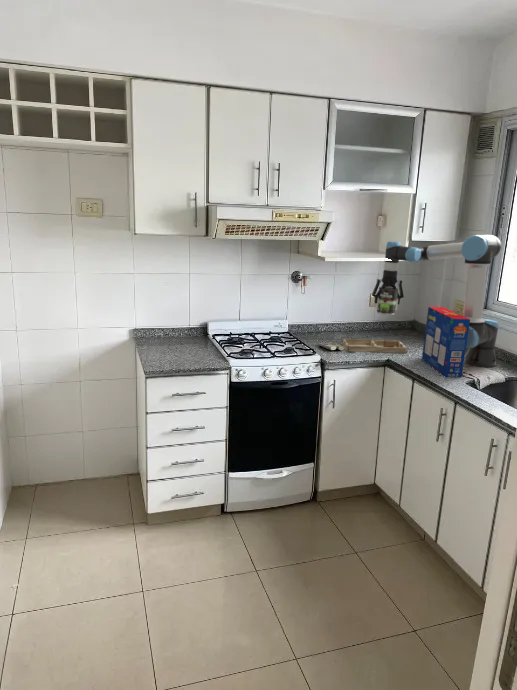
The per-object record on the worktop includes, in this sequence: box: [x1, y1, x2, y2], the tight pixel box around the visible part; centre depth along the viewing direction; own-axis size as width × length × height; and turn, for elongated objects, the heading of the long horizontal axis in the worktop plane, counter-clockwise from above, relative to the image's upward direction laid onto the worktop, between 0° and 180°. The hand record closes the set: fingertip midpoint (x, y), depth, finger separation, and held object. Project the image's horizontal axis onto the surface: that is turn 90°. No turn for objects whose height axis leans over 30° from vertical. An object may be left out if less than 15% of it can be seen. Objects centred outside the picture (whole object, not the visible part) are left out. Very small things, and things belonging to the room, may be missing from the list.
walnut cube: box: [383, 339, 395, 347], centre depth 283 cm, size 4×4×4 cm
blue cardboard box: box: [421, 306, 470, 378], centre depth 252 cm, size 28×8×28 cm, turn 5°
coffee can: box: [376, 286, 399, 316], centre depth 290 cm, size 10×10×14 cm
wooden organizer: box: [342, 338, 409, 354], centre depth 284 cm, size 16×32×4 cm, turn 90°
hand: (386, 309), depth 291 cm, fingers closed on coffee can, 10 cm apart
